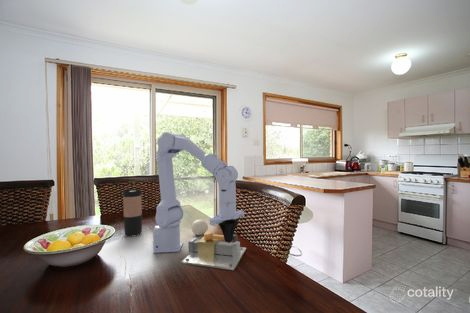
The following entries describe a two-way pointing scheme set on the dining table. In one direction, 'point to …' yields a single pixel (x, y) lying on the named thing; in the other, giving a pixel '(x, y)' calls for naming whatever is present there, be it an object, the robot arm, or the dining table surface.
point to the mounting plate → (214, 260)
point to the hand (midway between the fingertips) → (228, 241)
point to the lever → (217, 237)
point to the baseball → (199, 227)
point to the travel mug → (132, 212)
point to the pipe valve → (213, 247)
